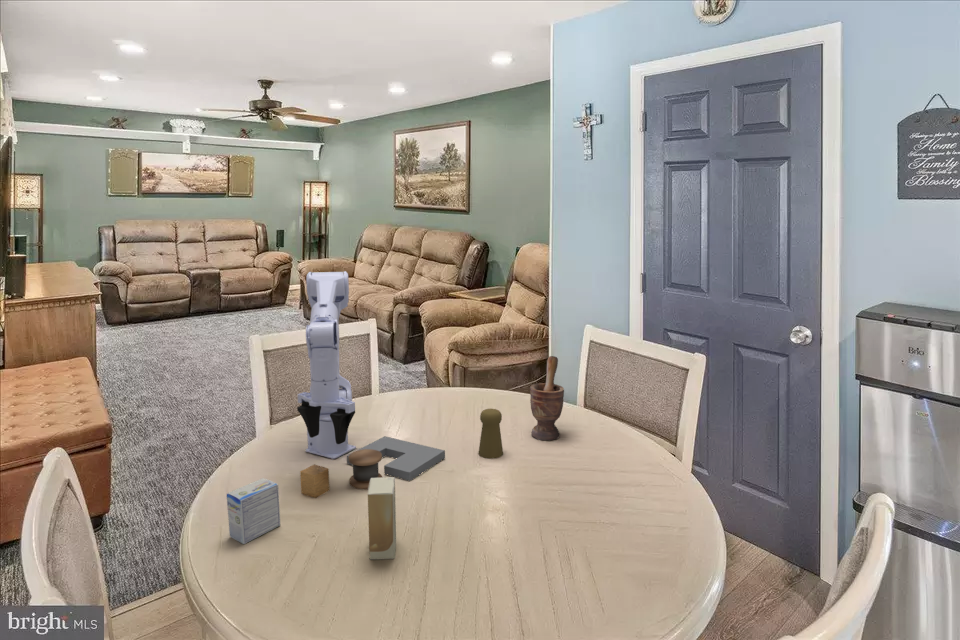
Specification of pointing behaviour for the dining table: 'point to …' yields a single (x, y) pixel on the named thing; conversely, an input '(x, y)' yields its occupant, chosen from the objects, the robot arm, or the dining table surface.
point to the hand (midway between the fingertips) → (327, 439)
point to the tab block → (314, 481)
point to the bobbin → (364, 467)
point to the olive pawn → (490, 434)
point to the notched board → (405, 457)
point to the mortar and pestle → (547, 404)
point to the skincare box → (382, 518)
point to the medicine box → (253, 510)
